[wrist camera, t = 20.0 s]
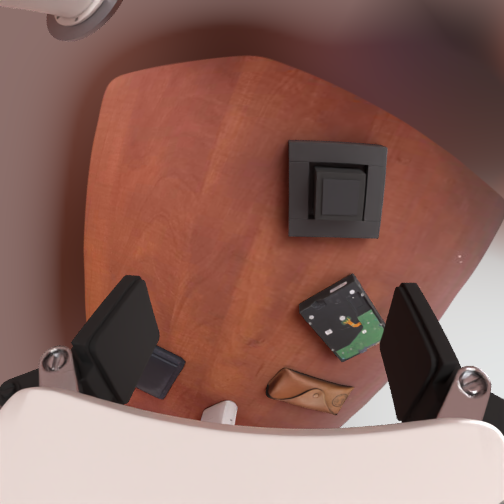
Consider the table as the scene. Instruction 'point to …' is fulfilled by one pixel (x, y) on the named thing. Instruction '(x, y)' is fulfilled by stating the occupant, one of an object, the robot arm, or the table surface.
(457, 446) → the robot arm
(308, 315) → the disk drive
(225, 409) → the photo printer
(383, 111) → the table surface
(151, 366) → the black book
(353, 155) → the docking pad
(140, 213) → the table surface
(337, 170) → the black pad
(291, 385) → the sunglasses case
